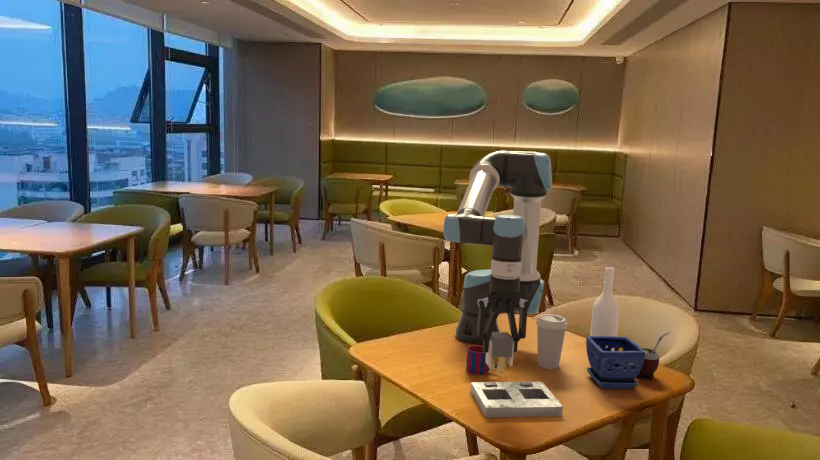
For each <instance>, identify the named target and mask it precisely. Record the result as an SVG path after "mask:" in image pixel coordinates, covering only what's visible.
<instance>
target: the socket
mask: <svg viewBox="0 0 820 460" xmlns="http://www.w3.org/2000/svg"><path fill="white" fill-rule="evenodd" d="M470 394H471V395H472V397H473V398H474V400H475V401H476V403H477V405H478V407H479V409H480V411H481V412H482V415H483V416H484V418H522V417H523V418H525V417H527V418H528V417H531V418H533V417H534V418H535V417H563V412H564V411H563V410H564V406H563V405H562V404H561V402H560V401H559V399H557V398H556V397H555V395H553V393H552V392H551V391H550V390H549V389H548V387H547V386H546V385H545V384H544V383H543V382H542V381H488V382H487V381H486V382H485V381H483V382H482V381H480V382H478V381H476V382H475V381H473V382H470Z"/></svg>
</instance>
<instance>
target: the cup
mask: <svg viewBox="0 0 820 460" xmlns="http://www.w3.org/2000/svg"><path fill="white" fill-rule="evenodd" d="M485 361H486V352H484V351H483V345H482V344H472V345H469V346H467V350H466V363H465V364H466V367H465V369H466V372H467V373H469V374H471V375H476V376H483V375H487V374H488V373H489V371H490V369H489V366H488V365H487V364H486V362H485ZM495 369H497V364H495V368H494V370H495Z"/></svg>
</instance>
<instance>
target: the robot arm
mask: <svg viewBox="0 0 820 460" xmlns="http://www.w3.org/2000/svg"><path fill="white" fill-rule="evenodd" d="M552 175H553V174H552V161H551V157H550V155H549V154H548V153H545V152H537V151H520V150H504V149H503V150H496V151H493V152H490V153H488V154H487V155H484V156H483V157H481V158H480V159H478V160H477V162H475V164H474V165H473V166H472V168H471V170H470V173H469V175H468V178H469V183H468V185H467V188H466V190H465V193H464V195H463V198H462V200H461V203H460V205H459V208H458V210H457V212H456V213H449V214H447V215H445V218H444V222H443V231H442V232H443V237H444V239H445V241H447V242H453V243H454V242H455V243H457V244H460V243H462V244H470V245H471V244H473V245H474V244H475V245H483V246H484V245H485V246H492V250H491V251H492V253H491V255H492V256H491V262H490V263H491V264H490V269H475V270H472V271H469V272H467V273H466V274H465V276H464V281H463V285H462V287H463V291H462V292H463V293H462V309H461V316H460V318H459V320H458V323H457V326H456V327H455V338H457V339H458V340H460V341H462V342H465V343H469V344H473V345H482V346H483V351H484V352H486V361H485V362H486V364H487V365H488V366H491V358H492V343H493V341H492V340H491V339H490V338H491V335H492V332H501V331H500V328H499V323H498V320H497V319H498V317H499V315H500V313H506V315H507V320H508V325H509V332H510V335H511V336H512V337H513V350H512V357H506V364H507V365H508V366H509V367H513V365H514V353H517V352H518V345H519V342H520V340H522V339H526V334H527V321H528V320H527V319H528V315H529V314H530V315H535V314H537V313H538V312H539V309H540V305H541V301H542V295H543V290H544V288H545V287H544V286H545V280H543V279H541V273H540V272H539V271H538V270H537V265H538V264H537V263H538V252H539V251H538V249H539V240H540V239H539V237H540V235H539V234H540V223H541V222H540V221H541V207H542V200H543V199H545V198H546V197H547V194H548V193H547V191H548V192H549V191H551V190H553V189H552V187H553V180H552V179H553V177H552ZM498 187H499V188H509V194H510V196H511V197H512V198H513V209H512V210H513V214H498V215H496V216H495V217H491V216H490V217H489V216H485V215H486V213H487V210H488V207H489V204H490V201H491V199H492V195H493V192H494V190H496V189H497V188H498ZM516 313H517V314H519V317H518V318H519V319H518V321H519V322H518V327H517V323H516V316H515V315H516Z"/></svg>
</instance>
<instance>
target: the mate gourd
mask: <svg viewBox="0 0 820 460" xmlns="http://www.w3.org/2000/svg"><path fill="white" fill-rule="evenodd" d="M669 334H671V331H668V332H666V333H663V334H662V335H661V336H659V338H658V339H657V342H656V343H655V346H654V348H653V349H652V348H645V347H641V348H642V349H643V350H644V352H645V358H644V362H643V365H642V367H641V370H640V372H639V374H638V375H637V377H636V378H635V379H642V377H643V378H645V379H647V380H649V381H650V380H652V381H653V377H654V375H655V374H654V373H655V372H657V370H658V368H659V365H660V356H659V354H658V352H657V351H656V350H657V348H658V346H659V344H660V342H661V341H662V339H663V338H664V337H665V336H667V335H669Z"/></svg>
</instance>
